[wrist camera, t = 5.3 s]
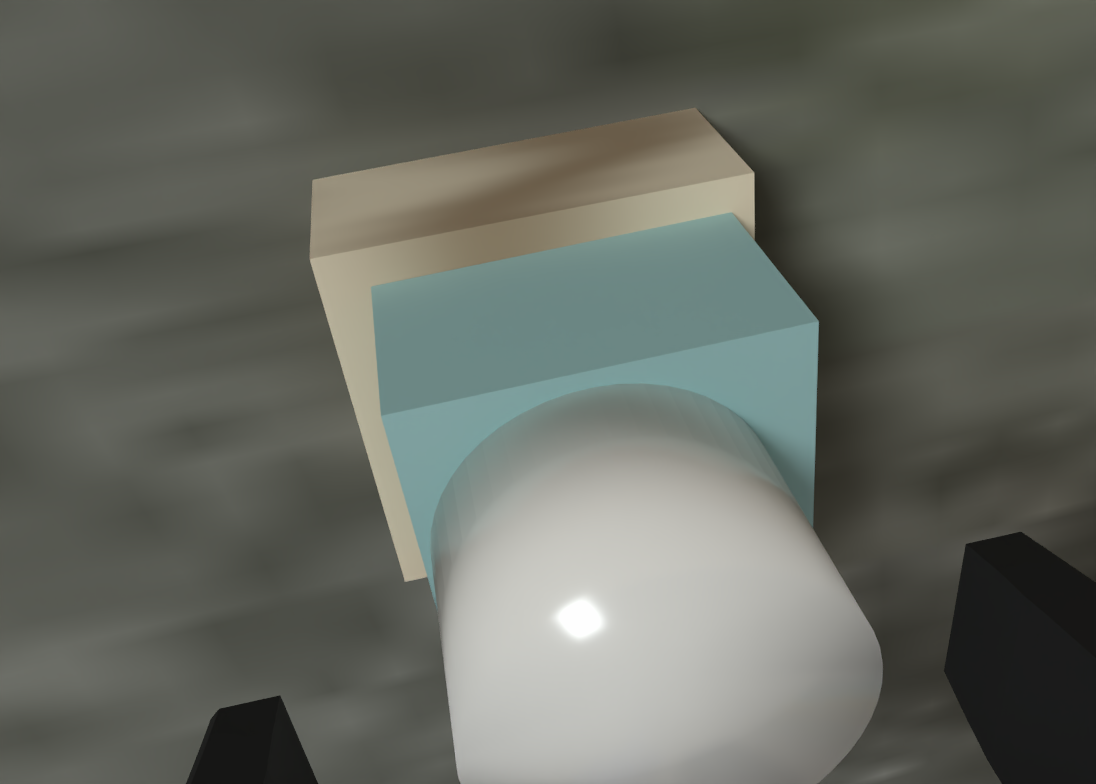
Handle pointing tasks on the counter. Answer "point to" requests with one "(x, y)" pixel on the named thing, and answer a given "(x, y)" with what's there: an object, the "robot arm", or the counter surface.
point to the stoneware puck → (642, 603)
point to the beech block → (500, 232)
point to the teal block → (593, 346)
